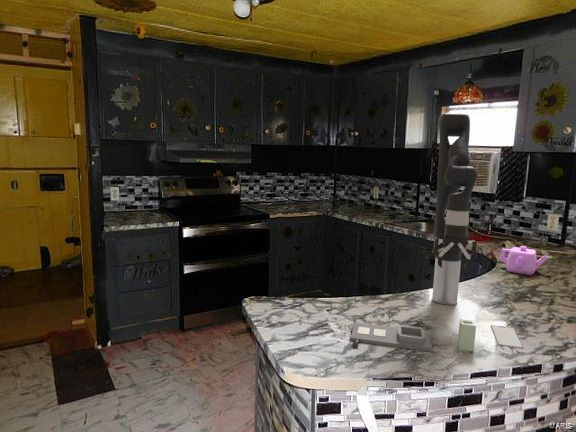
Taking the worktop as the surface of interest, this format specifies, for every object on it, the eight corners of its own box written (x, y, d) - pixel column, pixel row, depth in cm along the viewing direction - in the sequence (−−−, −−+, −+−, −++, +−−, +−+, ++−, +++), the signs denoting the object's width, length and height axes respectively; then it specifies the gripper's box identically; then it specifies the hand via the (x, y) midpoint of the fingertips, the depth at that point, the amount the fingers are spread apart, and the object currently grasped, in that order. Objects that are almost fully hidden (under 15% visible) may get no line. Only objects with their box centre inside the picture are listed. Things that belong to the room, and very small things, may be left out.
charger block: (457, 343, 130) (459, 318, 128) (471, 345, 129) (473, 320, 127) (459, 349, 126) (461, 323, 124) (473, 351, 125) (476, 325, 124)
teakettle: (523, 265, 221) (526, 242, 219) (548, 275, 205) (551, 250, 203) (494, 266, 218) (496, 243, 216) (517, 276, 202) (520, 251, 200)
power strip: (354, 325, 141) (354, 317, 141) (429, 334, 135) (430, 326, 135) (349, 346, 126) (349, 337, 125) (433, 358, 120) (434, 348, 120)
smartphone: (497, 344, 129) (490, 324, 143) (497, 346, 129) (489, 326, 144) (524, 348, 127) (514, 327, 141) (524, 350, 127) (514, 329, 141)
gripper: (476, 223, 150) (472, 267, 152) (434, 220, 154) (431, 263, 156) (480, 226, 143) (476, 272, 145) (436, 223, 146) (432, 268, 148)
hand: (452, 267), depth 150 cm, fingers open, 8 cm apart
